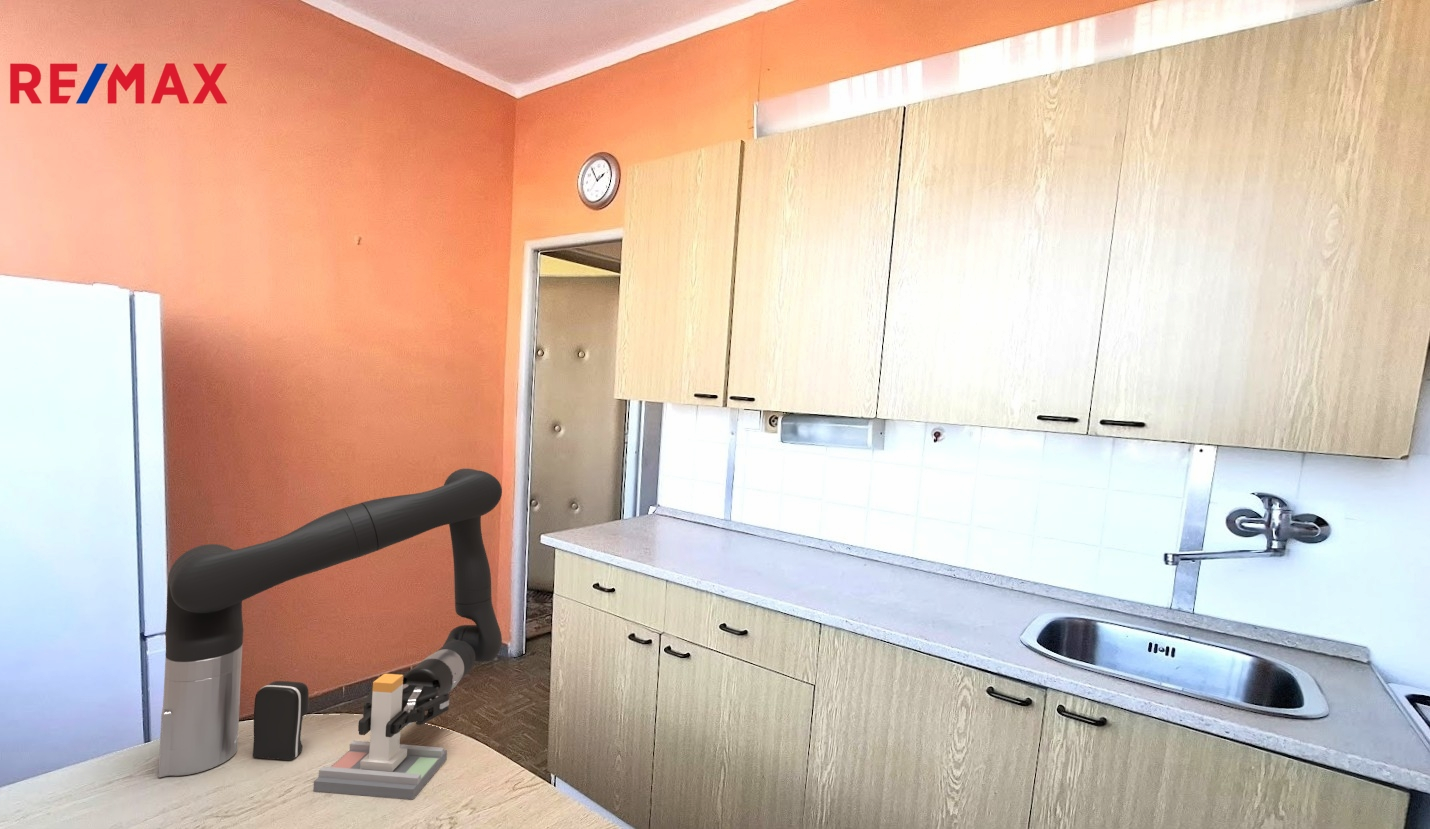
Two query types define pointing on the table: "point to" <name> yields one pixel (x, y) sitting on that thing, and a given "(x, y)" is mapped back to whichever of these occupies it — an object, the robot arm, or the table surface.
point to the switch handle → (384, 725)
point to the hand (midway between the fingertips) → (375, 729)
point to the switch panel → (381, 773)
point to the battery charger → (279, 720)
